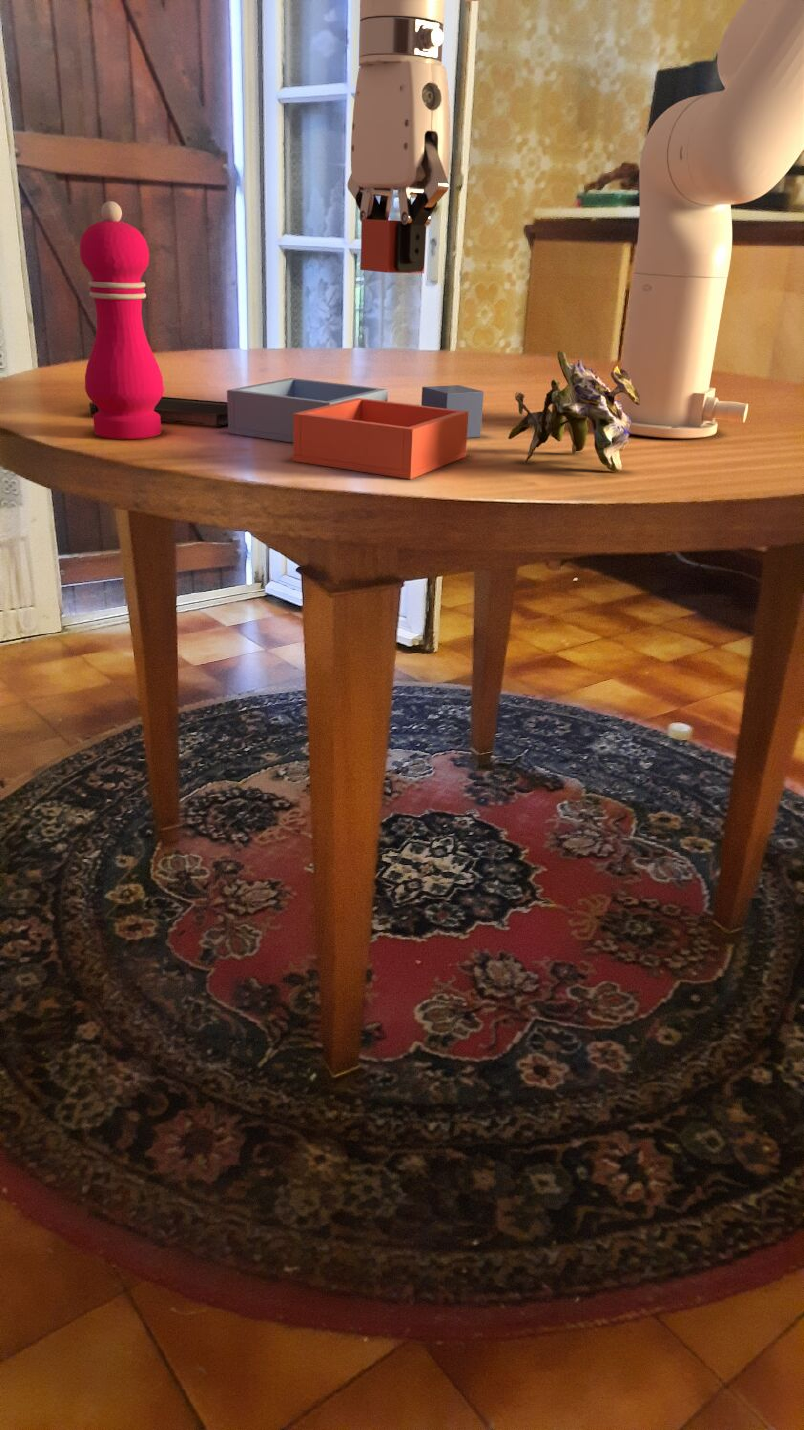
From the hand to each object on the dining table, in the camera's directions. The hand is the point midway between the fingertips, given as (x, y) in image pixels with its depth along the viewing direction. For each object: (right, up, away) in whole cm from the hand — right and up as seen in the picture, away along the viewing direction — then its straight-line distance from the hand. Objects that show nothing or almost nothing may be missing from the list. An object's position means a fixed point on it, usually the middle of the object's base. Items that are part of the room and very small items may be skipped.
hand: (392, 267), depth 100 cm
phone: (-24, -12, +8) cm, 28 cm away
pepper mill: (-25, -17, -2) cm, 31 cm away
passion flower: (+16, -21, -7) cm, 27 cm away
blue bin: (-8, -15, +3) cm, 18 cm away
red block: (0, 0, 0) cm, 0 cm away
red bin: (-1, -21, -7) cm, 22 cm away
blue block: (+6, -15, +5) cm, 17 cm away
